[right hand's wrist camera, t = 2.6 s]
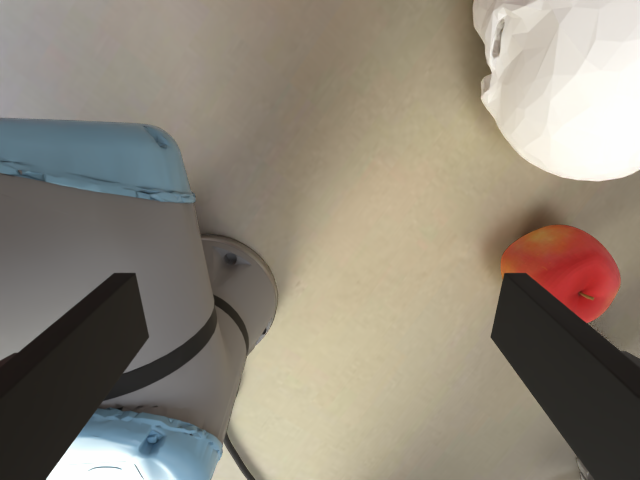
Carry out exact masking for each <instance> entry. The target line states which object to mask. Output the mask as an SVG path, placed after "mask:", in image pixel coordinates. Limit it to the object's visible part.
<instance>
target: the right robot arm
mask: <svg viewBox="0 0 640 480" xmlns="http://www.w3.org/2000/svg"><path fill="white" fill-rule="evenodd" d="M194 202H196V199H195V194H194V193H193V192H192V191H191V189H190V185H189V181H188V178H187V174H186V170H185V167H184V163H183V159H182V156H181V152H180V149H179V147H178V145H177V143H176V142H175V140H174V139H173V138H172V137H171V136H170V135H169V134H168V133H167V132H165V131H164V130H162V129H160V128H158V127H155V126H152V125H148V124H138V123H121V122H99V121H75V120H50V119H19V118H0V480H211V478H212V475H213V473H214V470H215V467H216V465H217V462H218V461H219V460H220V458H221V456H222V453H223V450H222V447H223V442H224V444H225V446H226V448H227V449H228V451H229V452H230V454H231V456H232V457H233V459H234V460H235V462H236V464H237V465H238V467H239V468H240V470H241V471H242V473H243V474H244V476H245V477H246V478H247V480H255V479H254V477H253V476H252V475H251V473H250V472H249V471H248V469H247V468H246V466H245V465H244V463H243V462H242V460H241V458H240V457H239V455H238V453H237V452H236V450H235V449H234V447H233V445H232V444H231V442H230V440H229V438H228V435H227V432H226V431H227V427H228V424H229V420H230V416H231V413H232V409H233V405H234V402H235V398H236V396H237V393H238V389H239V383H240V380H241V376H242V373H243V369H244V365H245V361H246V358H247V356H248V355H249V353H250V352H251V351H252V350H253V349H254V347H255V346H256V345H257V344H258V343H259V342H260V341H261V340H262V339H263V337H264V336H265V335H266V333H267V332H268V330H269V329H270V327H271V325H272V323H273V320H274V317H275V313H276V308H277V302H278V293H277V286H276V283H275V279H274V277H273V275H272V273H271V271H270V269H269V267H268V266H267V265H266V263H265V262H264V261H263V260H262V259H261V257H259V256H258V255H257V254H256V253H255V252H254V251H253V250H251V249H250V248H248V247H247V246H245V245H244V244H242V243H240V242H238V241H235V240H233V239H230V238H227V237H223V236H218V235H207V234H205V235H200V231H199V227H198V222H197V217H196V212H195V206H194ZM491 338H492V340H493V341H494V342H495V344H496V345H497V347H498V348H499V349H500V351H501V352H502V353H503V355H504V356H505V358H506V359H507V360H508V362H509V363H510V364H511V366H512V367H513V369H514V370H515V371H516V373H517V374H518V375H519V377H520V378H521V380H522V381H523V382H524V384H525V385H526V386H527V388H528V389H529V391H530V392H531V393H532V395H533V396H534V398H535V399H536V400H537V402H538V403H539V404H540V406H541V407H542V409H543V410H544V411H545V413H546V414H547V415H548V417H549V418H550V420H551V421H552V422H553V424H554V425H555V426H556V428H557V429H558V431H559V432H560V433H561V435H562V436H563V437H564V439H565V440H566V442H567V443H568V444H569V446H570V447H571V448H572V450H573V451H574V453H575V454H576V455H577V457H578V458H579V459H580V461H581V462H582V464H583V465H584V466H585V468H586V469H587V470H588V472H589V473H590V475H591V476H592V477H593V479H594V480H640V359H639V358H637V357H635V356H633V355H632V354H630V353H628V352H626V351H620V350H618V349H617V348H616V347H615V346H614V345H612V344H611V343H610V342H609V341H607V340H606V339H605V338H604V337H603V336H601V335H600V334H599V333H598V332H597V331H595V330H594V329H593V328H592V327H591V326H589V325H588V324H587V323H586V322H585V321H583V320H582V319H581V318H580V317H579V316H577V315H576V314H575V313H574V312H573V311H571V310H570V309H569V308H568V307H566V306H565V305H564V304H563V303H562V302H560V301H559V300H558V299H557V298H556V297H554V296H553V295H552V294H551V293H550V292H548V291H547V290H546V289H545V288H544V287H542V286H541V285H540V284H539V283H538V282H536V281H535V280H534V279H533V278H531V277H530V276H529V275H528V274H527V273H504V277H503V282H502V286H501V291H500V296H499V301H498V305H497V310H496V315H495V319H494V324H493V329H492V333H491Z"/></svg>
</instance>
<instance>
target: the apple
mask: <svg viewBox="0 0 640 480" xmlns="http://www.w3.org/2000/svg"><path fill="white" fill-rule="evenodd" d="M504 273H527V274H528V275H529V276H530V277H531V278H533V279H534V280H535V281H536V282H538V283H539V284H540V285H541V286H542V287H544V288H545V289H546V290H547V291H548V292H550V293H551V294H552V295H553V296H554V297H556V298H557V299H558V300H559V301H560V302H562V303H563V304H564V305H565V306H566V307H568V308H569V309H570V310H571V311H573V312H574V313H575V314H576V315H577V316H579V317H580V318H581V319H582V320H583V321H585V322H586V323H588V322H591V321H593V320H595V319H596V318H598V317H599V316H600V315H601V314H603V313H604V312H605V311H606V310H607V308H608V307H609V306H610V304H611V303H612V301H613V299H614V298H615V296H616V294H617V292H618V290H619V288H620V283H621V278H620V273H619V270H618V267H617V265H616V263H615V261H614V259H613V258H612V256H611V255H610V253H609V252H608V251H607V249H606V248H605V247H604V246H603V245H602V244H601V243H600V242H599V241H598V240H596V239H595V238H594V237H593V236H591V235H590V234H588V233H586V232H585V231H582V230H580V229H578V228H575V227H572V226H567V225H550V226H546V227H542V228H539V229H537V230H534V231H532V232H530V233H528V234H526V235H524V236H523V237H521V238H519V239H518V240H516V241H515V242H514V243H512V244H511V245H510V246H509V247H508V248H507V249H506V250H505V252H504V253H503V255H502V258H501V274H502V278H503V277H504Z"/></svg>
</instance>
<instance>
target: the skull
mask: <svg viewBox="0 0 640 480" xmlns="http://www.w3.org/2000/svg"><path fill="white" fill-rule="evenodd" d="M473 22H474V28H475V29H476V31H477V32H478V34H479V36H480V37H481V39H482V40H483V42H484V44H485V55H486V60H487V64H488V65H489V67H490V69H491V72H492V74H490V75H487V76H484V78H483V79H482V81H481V91H482V92H481V100H482V102H483V104H484V106H485V107H486V108H487V110H488V111H489V112H490V114H491V115H492V116H493V117H494V119H495V121H496V124H497V126H498V128H499V129H500V131H501V133H502V134H503V136H504V137H505V139H506V140H507V141H508V142H509V144H510V145H511V146H512V147H513V148H514V150H515V151H516V152H517V153H518V154H519V155H520V156H521V157H523V158H524V159H525V160H527V161H528V162H529V163H531V164H533V165H535V166H537V167H538V168H540V169H542V170H544V171H546V172H549V173H552V174H554V175H557V176H560V177H563V178H569V179H574V180H586V181H604V180H610V179H617V178H622V177H625V176H628V175H631V174H633V173H635V172H636V171H639V170H640V0H474V2H473ZM502 29H503V31H502Z"/></svg>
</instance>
